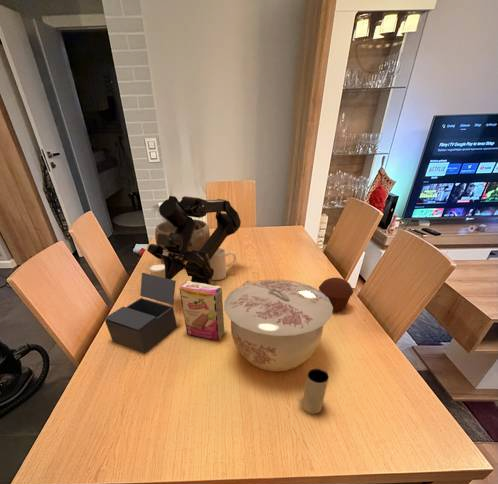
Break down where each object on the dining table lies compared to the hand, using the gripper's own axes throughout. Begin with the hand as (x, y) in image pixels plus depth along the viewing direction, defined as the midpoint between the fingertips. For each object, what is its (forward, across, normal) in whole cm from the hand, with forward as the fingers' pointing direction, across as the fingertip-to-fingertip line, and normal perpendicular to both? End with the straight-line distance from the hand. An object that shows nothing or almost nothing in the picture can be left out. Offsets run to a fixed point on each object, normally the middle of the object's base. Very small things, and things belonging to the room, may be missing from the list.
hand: (167, 280), depth 96 cm
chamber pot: (+12, +40, +5) cm, 42 cm away
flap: (+4, 0, -3) cm, 5 cm away
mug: (-15, 0, +32) cm, 35 cm away
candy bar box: (+12, +17, +5) cm, 22 cm away
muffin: (-12, +48, +29) cm, 58 cm away
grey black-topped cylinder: (+22, +56, -5) cm, 60 cm away
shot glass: (-2, -18, +20) cm, 27 cm away
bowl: (-21, -24, +38) cm, 49 cm away
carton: (+18, 0, -1) cm, 18 cm away
